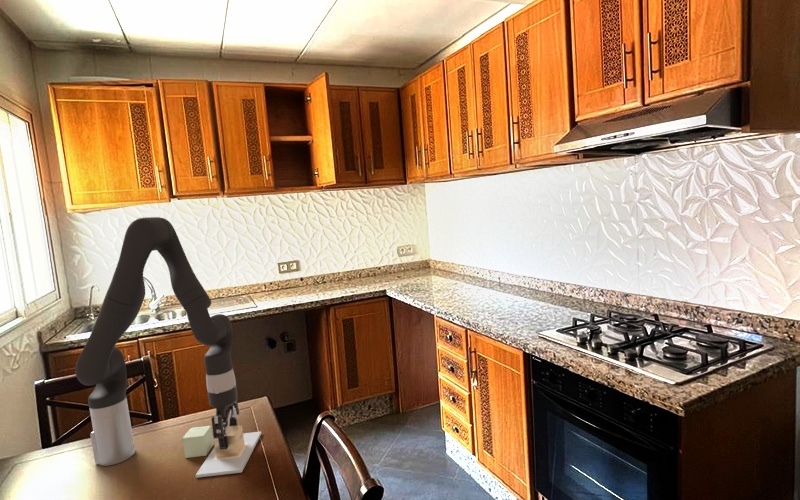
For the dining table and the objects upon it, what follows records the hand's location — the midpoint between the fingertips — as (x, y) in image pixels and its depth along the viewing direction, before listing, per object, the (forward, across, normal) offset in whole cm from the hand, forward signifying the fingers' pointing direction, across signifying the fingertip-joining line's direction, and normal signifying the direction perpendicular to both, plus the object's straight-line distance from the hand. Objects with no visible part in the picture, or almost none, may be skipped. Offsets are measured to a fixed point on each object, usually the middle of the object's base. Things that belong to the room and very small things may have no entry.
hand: (229, 440), depth 127 cm
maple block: (+3, 0, 0) cm, 3 cm away
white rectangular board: (+4, 0, 0) cm, 4 cm away
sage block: (+4, -4, -10) cm, 12 cm away
